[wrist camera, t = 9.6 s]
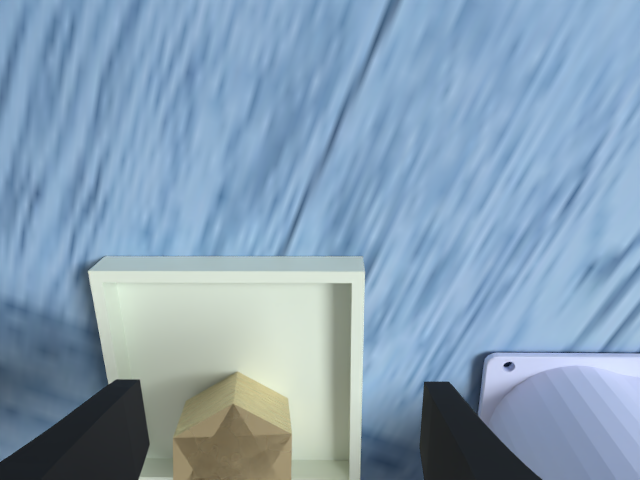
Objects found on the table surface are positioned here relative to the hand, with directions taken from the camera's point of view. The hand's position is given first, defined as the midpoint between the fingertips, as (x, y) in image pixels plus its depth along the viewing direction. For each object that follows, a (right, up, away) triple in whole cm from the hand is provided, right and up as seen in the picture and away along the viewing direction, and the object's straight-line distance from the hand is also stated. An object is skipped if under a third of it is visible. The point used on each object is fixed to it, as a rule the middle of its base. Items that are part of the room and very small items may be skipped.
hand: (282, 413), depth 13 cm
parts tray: (-3, -1, +11) cm, 11 cm away
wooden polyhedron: (-3, -4, +10) cm, 12 cm away
